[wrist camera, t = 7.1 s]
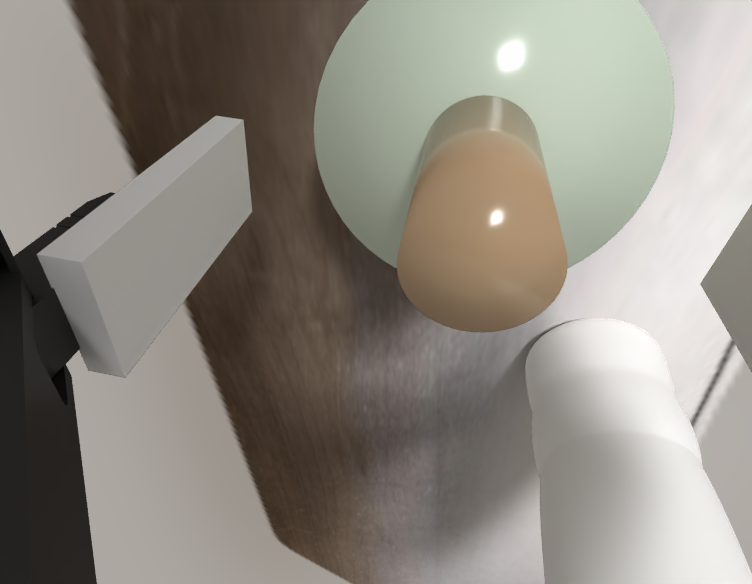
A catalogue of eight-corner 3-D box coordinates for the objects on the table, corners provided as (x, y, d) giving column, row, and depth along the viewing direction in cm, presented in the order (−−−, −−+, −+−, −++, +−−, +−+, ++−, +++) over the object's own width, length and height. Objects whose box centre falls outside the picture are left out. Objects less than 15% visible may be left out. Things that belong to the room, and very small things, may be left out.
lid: (322, -80, 13) (197, -71, 7) (741, -38, 12) (973, 10, 6) (321, 250, 20) (256, 388, 14) (589, 294, 19) (635, 460, 13)
